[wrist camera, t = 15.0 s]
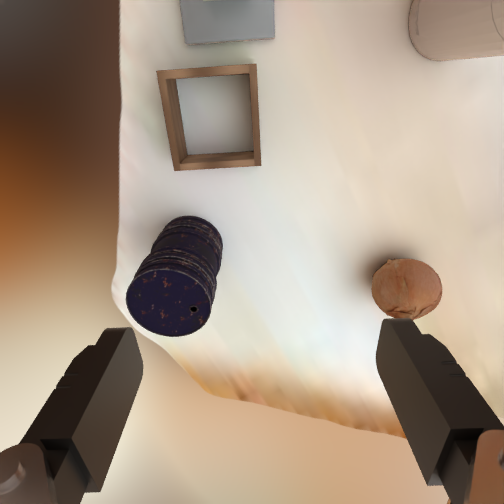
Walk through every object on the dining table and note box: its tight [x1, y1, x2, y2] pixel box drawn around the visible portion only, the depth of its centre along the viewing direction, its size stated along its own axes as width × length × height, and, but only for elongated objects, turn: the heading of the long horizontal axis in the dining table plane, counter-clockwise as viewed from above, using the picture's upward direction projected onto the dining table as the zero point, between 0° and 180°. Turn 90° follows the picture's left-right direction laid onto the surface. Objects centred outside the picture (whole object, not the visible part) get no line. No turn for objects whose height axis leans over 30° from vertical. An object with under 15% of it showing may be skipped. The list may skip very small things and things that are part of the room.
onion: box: [371, 259, 442, 320], centre depth 47 cm, size 10×9×10 cm
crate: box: [156, 64, 261, 171], centre depth 38 cm, size 11×11×5 cm
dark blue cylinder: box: [126, 216, 223, 337], centre depth 42 cm, size 10×10×15 cm
